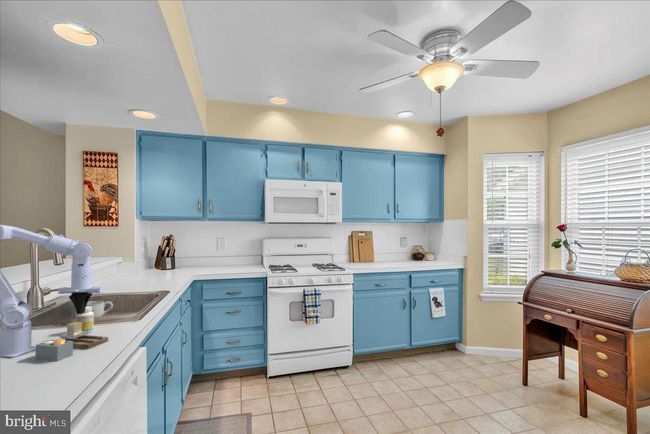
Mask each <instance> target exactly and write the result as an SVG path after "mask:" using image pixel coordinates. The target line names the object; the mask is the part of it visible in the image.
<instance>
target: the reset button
mask: <svg viewBox="0 0 650 434" xmlns="http://www.w3.org/2000/svg"><path fill="white" fill-rule="evenodd" d="M64 343H65V339H62V338H59V339H58V338H57V339H55V341H53V345H56V346H59V345H61V344H64Z"/></svg>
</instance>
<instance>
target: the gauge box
mask: <svg viewBox="0 0 650 434" xmlns="http://www.w3.org/2000/svg"><path fill="white" fill-rule="evenodd" d="M55 340H56V339H48V340H44V341H42V342H40V343H37V344H35V347H36V349H35V360H43V361H52V362H59V361H62V360H64V359H67V358H69V357H71V356H73V355H74V353H73V352H74V348H73V341H66V340H65V343H64V344H61V345H59V346H56V345H53V341H55Z"/></svg>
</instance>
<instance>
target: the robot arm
mask: <svg viewBox="0 0 650 434" xmlns="http://www.w3.org/2000/svg"><path fill="white" fill-rule="evenodd" d="M11 239H16V240H20V241H25V242H29V243H32V244H37V245H41V246H43V247H44V248H45V249H46V251H49V252H52V253H55V254H58V255H59V254H60V255H64V256H71V257H72V258H71V259H72V261H71V262H72V263H71V274H70V276H71V278H70V280H71V281H70V283H71V284H70V286H71V287H69V286H68V287H61V288H58V291H57V294H58V295H63V294H65V295H66V294H67V295H68V294H71V295H69V296H68V298H69V299H70V300H69V301H71V302H72V304H73V306H74V310H75V309H76V313H77V314H82V313H84V312H85V308H86V305H87V303H88V302H90V299H91V297H92V296H93V294H98V295H99V294H103V293H104V287H101V286H100V287H99V286H92V262H91V260H92V257H91V254H92V251H93V250H92V249H93V248H92V246H91V245H90V244H88V243H86V242H84V241H82V242H80V240H78V239H71V238H67V237H65V236H64V235H63V234H58V235H57V234H53V235H51V236H47V235H43V234H39V233H35V232H33V231H30V230H26V229H23V228H20V227H16V226H13V225H6V224H0V242H1V241H2V240H11ZM33 311H34V309H33V307H32V306H31V304H30V303H27V302H25V301H24V299H23V298H22V297H21V296H20V295H18V294H17V292H16V291H15V290H14V288H13V287H12V286H11V284H10V282H9V280H8V279H7V277H6V276H5V275H4V273H3V272H2V270H1V269H0V323H1V326H0V357H2V358H15V357H18V356H21V355H24V354H26V353H30V352H32V351H36V346H32V329H33V328H32V320H30V317H31V316H32V314H33Z"/></svg>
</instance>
